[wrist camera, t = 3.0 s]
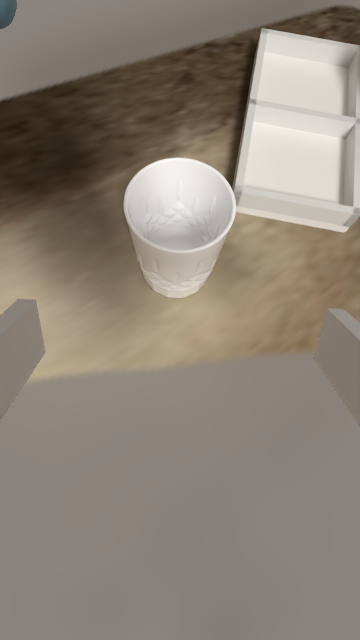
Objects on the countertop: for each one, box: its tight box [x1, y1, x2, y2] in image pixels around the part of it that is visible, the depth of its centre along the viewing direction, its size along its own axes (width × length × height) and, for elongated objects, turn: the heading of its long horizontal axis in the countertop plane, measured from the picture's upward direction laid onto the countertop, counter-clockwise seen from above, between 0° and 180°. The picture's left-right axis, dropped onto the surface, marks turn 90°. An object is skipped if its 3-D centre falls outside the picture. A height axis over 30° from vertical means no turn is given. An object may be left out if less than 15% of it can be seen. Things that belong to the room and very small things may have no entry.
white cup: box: [123, 158, 236, 298], centre depth 27 cm, size 8×8×10 cm
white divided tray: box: [232, 28, 360, 233], centre depth 36 cm, size 13×24×3 cm, turn 169°
